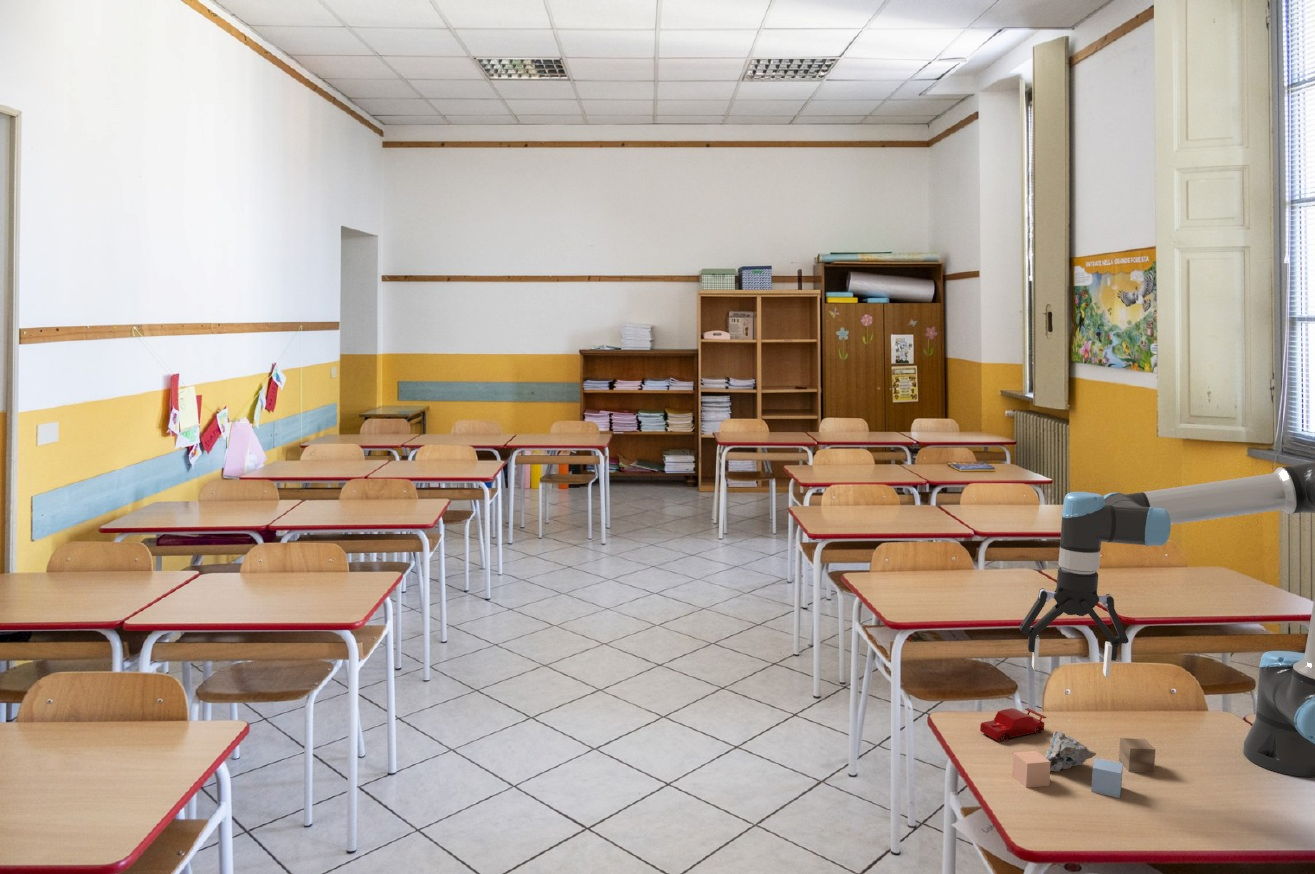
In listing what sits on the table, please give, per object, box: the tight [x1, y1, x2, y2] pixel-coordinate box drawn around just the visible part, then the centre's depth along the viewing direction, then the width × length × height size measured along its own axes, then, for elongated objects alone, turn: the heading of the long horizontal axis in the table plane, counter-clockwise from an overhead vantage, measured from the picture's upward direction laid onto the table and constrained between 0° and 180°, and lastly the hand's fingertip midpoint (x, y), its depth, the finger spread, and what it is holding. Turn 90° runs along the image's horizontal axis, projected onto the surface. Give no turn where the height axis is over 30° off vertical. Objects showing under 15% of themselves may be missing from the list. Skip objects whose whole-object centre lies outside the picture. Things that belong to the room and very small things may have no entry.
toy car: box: [979, 707, 1047, 742], centre depth 215 cm, size 14×6×5 cm, turn 114°
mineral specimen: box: [1043, 731, 1097, 772], centre depth 199 cm, size 10×8×10 cm
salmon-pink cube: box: [1011, 750, 1051, 788], centre depth 193 cm, size 5×5×5 cm
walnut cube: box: [1118, 737, 1156, 773], centre depth 200 cm, size 5×5×5 cm
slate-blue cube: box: [1090, 757, 1124, 799], centre depth 189 cm, size 5×5×5 cm
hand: (1070, 671), depth 197 cm, fingers open, 13 cm apart
